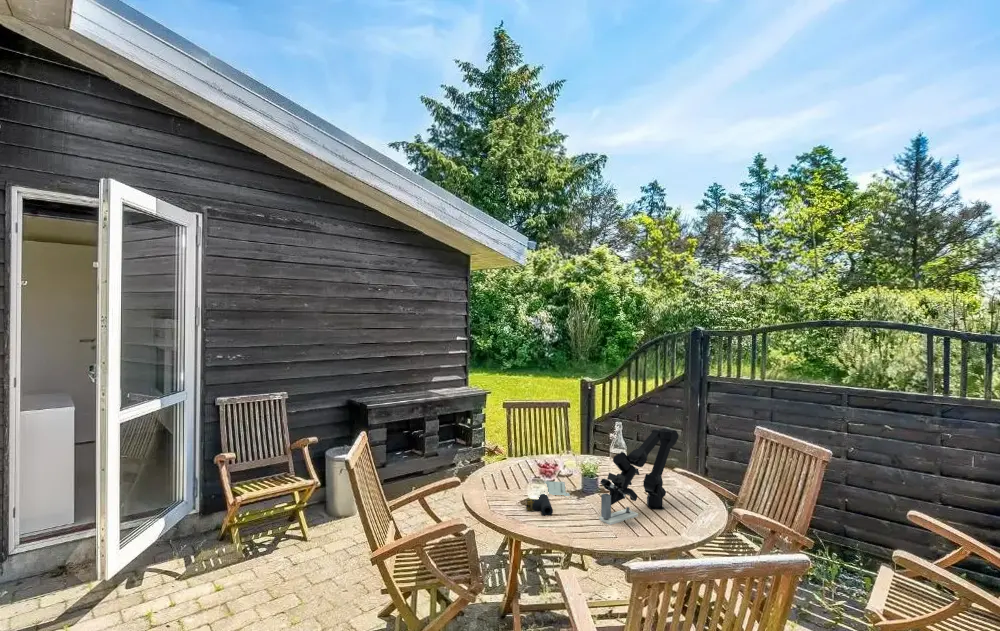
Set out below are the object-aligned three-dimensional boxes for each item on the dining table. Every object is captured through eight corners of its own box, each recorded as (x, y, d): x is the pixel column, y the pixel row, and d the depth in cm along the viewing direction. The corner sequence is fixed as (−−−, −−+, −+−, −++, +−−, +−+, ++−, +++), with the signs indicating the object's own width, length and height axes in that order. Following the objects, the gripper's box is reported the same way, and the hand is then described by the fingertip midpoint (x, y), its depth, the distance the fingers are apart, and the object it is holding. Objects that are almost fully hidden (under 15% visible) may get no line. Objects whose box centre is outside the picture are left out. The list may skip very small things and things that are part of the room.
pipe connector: (528, 505, 225) (525, 493, 240) (528, 516, 225) (525, 504, 240) (553, 505, 226) (548, 493, 241) (552, 516, 226) (548, 504, 241)
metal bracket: (540, 477, 263) (568, 478, 262) (540, 486, 265) (568, 487, 264) (540, 493, 250) (569, 495, 248) (540, 503, 251) (569, 504, 250)
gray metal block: (606, 516, 221) (606, 493, 222) (610, 518, 219) (611, 495, 219) (601, 517, 220) (601, 494, 220) (606, 520, 217) (606, 496, 217)
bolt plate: (626, 511, 231) (626, 503, 231) (638, 516, 225) (638, 508, 226) (598, 519, 222) (598, 511, 222) (609, 524, 216) (609, 517, 216)
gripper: (603, 461, 231) (585, 488, 225) (633, 471, 215) (615, 501, 209) (614, 475, 235) (598, 502, 229) (645, 486, 220) (627, 516, 214)
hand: (609, 505), depth 220 cm, fingers closed
